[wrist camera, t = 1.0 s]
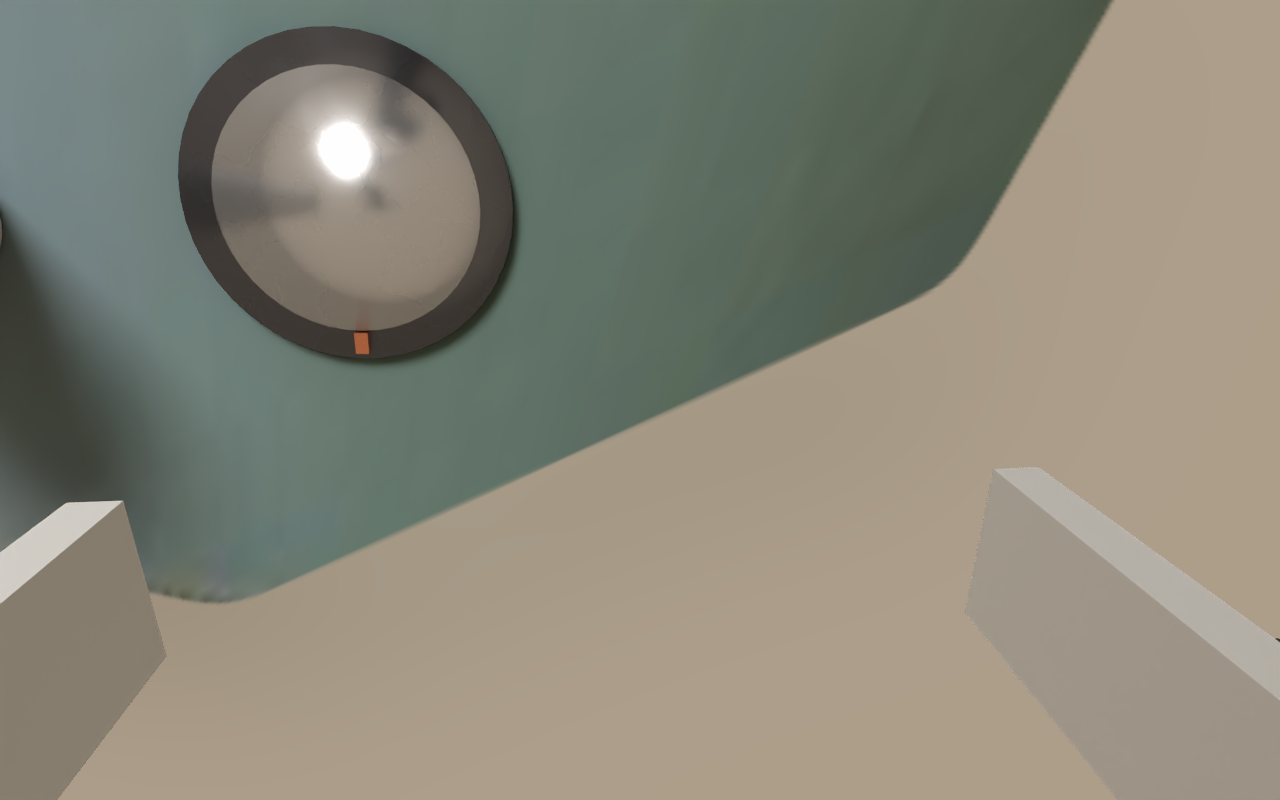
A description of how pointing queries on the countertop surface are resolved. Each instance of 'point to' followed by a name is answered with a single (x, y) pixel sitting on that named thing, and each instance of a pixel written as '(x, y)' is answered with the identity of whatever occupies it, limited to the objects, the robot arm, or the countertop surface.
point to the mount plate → (345, 192)
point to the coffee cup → (0, 233)
